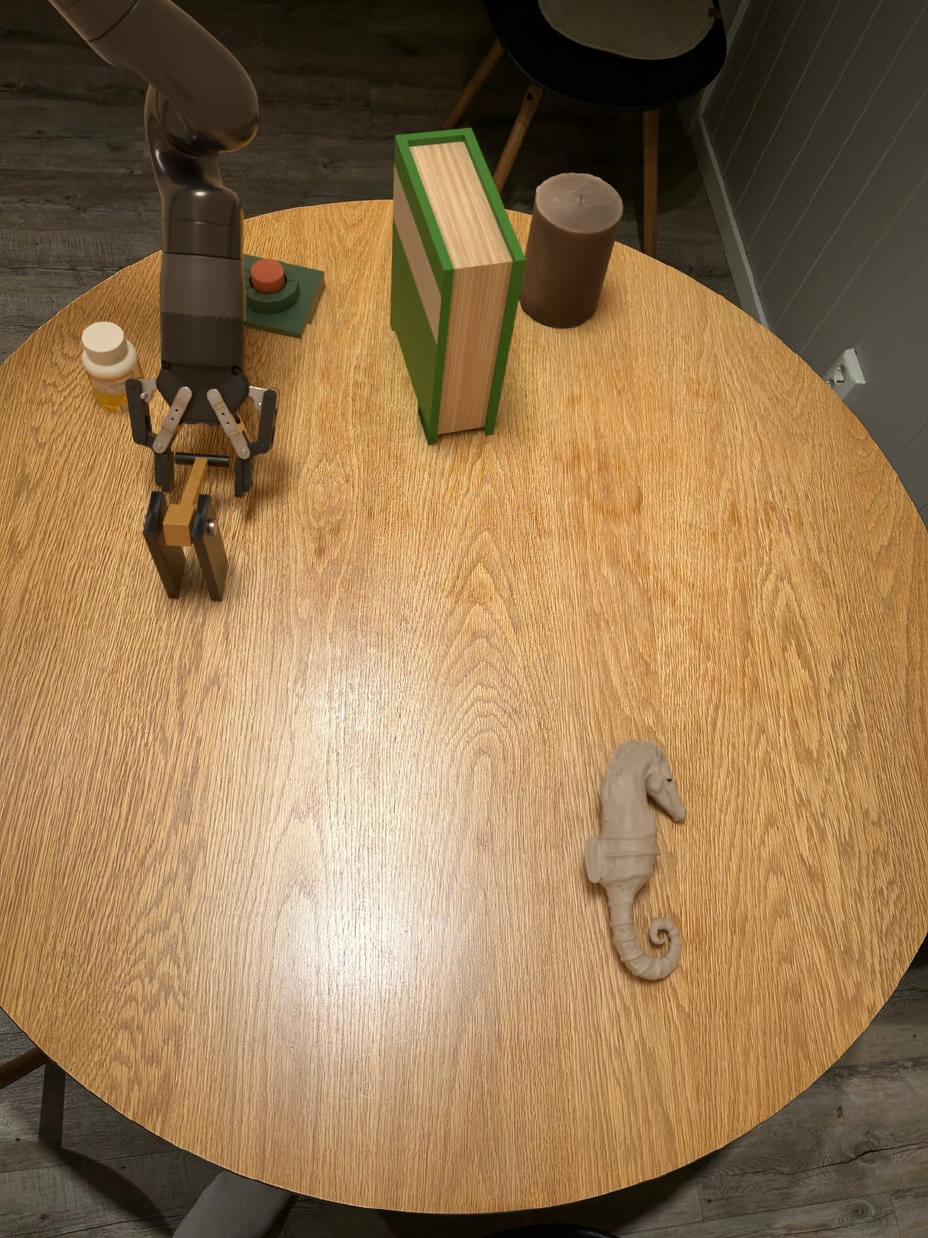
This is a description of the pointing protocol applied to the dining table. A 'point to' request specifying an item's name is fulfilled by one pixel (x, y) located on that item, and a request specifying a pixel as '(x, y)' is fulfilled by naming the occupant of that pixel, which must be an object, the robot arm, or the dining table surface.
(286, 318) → the button box
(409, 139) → the hardback book
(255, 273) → the button
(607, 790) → the seahorse
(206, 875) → the dining table surface
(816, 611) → the dining table surface
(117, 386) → the supplement bottle
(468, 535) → the dining table surface
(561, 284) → the pillar candle
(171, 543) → the latch
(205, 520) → the bracket
